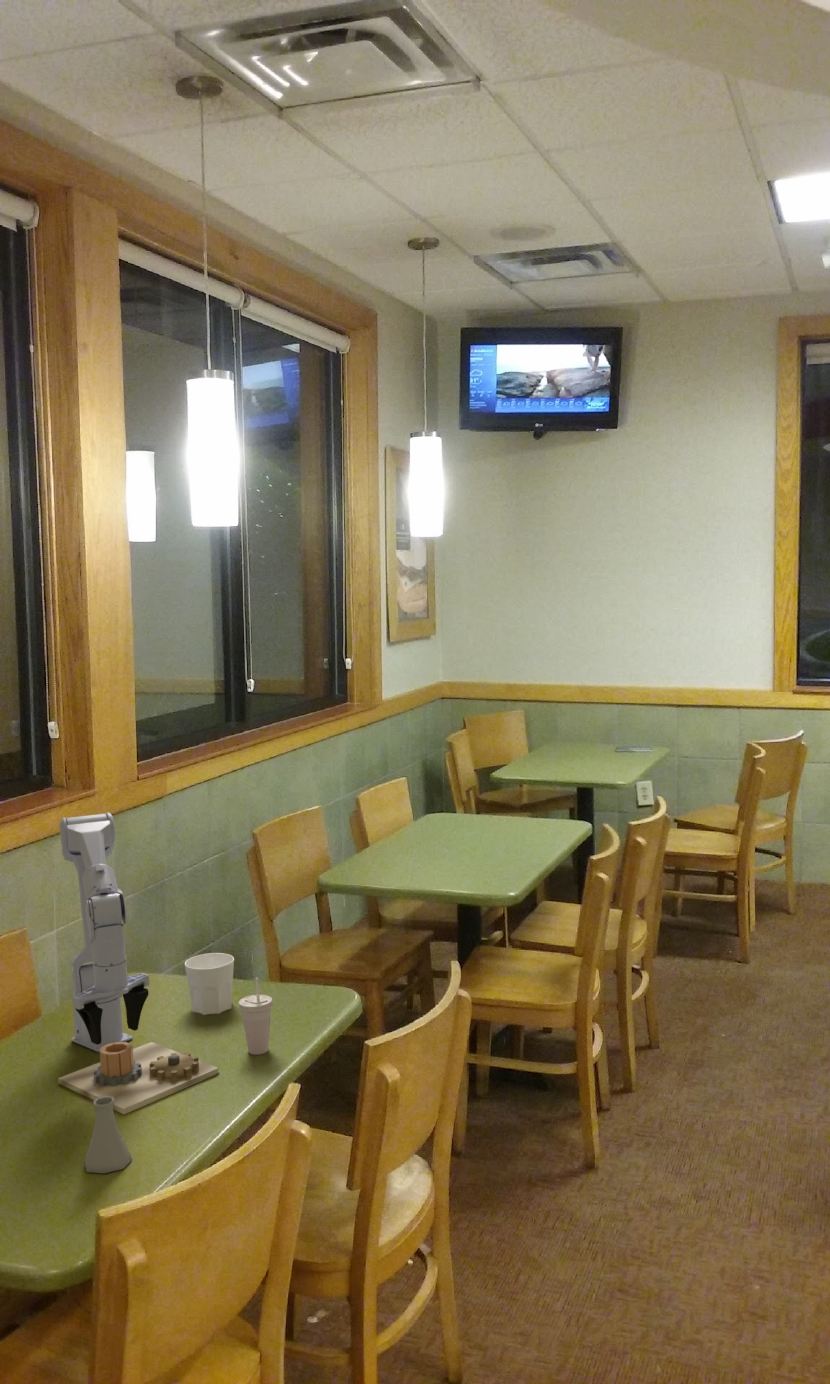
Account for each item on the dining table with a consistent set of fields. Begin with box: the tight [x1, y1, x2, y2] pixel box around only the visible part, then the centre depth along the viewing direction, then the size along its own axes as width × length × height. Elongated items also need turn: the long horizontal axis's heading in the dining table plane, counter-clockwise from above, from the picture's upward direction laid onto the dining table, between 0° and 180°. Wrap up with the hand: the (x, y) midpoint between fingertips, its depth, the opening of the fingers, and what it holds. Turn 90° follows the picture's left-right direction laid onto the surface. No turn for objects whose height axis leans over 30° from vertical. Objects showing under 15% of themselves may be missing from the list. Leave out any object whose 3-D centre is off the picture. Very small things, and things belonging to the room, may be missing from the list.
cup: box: [184, 952, 235, 1016], centre depth 244 cm, size 10×10×10 cm
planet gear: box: [94, 1041, 142, 1086], centre depth 210 cm, size 8×8×5 cm
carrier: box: [57, 1041, 220, 1115], centre depth 211 cm, size 20×20×4 cm
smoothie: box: [238, 977, 274, 1056], centre depth 221 cm, size 6×6×14 cm
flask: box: [83, 1096, 133, 1174], centre depth 181 cm, size 7×7×10 cm
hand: (114, 1036), depth 210 cm, fingers open, 7 cm apart
